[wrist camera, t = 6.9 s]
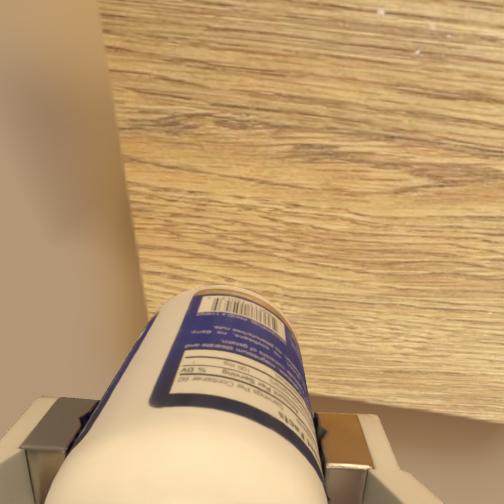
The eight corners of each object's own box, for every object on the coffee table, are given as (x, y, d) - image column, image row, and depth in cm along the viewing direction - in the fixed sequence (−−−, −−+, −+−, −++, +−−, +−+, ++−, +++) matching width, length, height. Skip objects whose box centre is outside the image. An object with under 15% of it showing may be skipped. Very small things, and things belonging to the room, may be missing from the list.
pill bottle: (202, 437, 14) (97, 938, 5) (114, 329, 12) (-219, 755, 4) (329, 375, 13) (462, 869, 4) (247, 250, 11) (195, 591, 3)
